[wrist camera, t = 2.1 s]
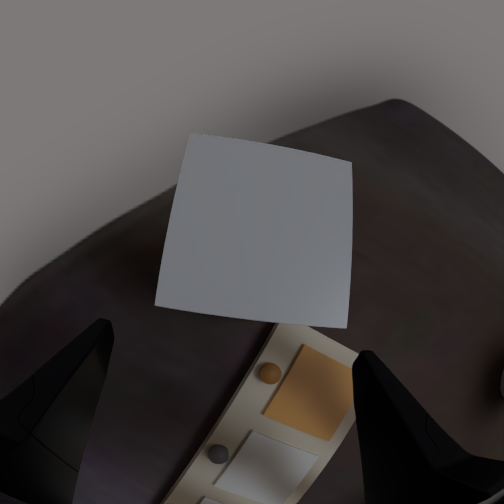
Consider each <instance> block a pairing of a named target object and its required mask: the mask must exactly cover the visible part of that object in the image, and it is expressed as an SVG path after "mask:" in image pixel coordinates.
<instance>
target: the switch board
mask: <svg viewBox="0 0 504 504" xmlns="http://www.w3.org/2000/svg"><path fill="white" fill-rule="evenodd" d="M358 355H359V354H358V353H356V352H354V351H352V350H350V349H348V348H347V347H345V346H343V345H341V344H339V343H337V342H335V341H334V340H332V339H330V338H328V337H326V336H324V335H323V334H321V333H319V332H317V331H315V330H313V329H312V328H310V327H308V326H306V325H295V324H284V323H275V325H274V327H273V328H272V330H271V332H270V334H269V335H268V337H267V339H266V341H265V342H264V344H263V346H262V348H261V349H260V351H259V353H258V355H257V356H256V358H255V360H254V361H253V363H252V365H251V366H250V368H249V370H248V371H247V373H246V375H245V376H244V378H243V380H242V381H241V383H240V385H239V386H238V388H237V390H236V391H235V393H234V394H233V396H232V398H231V399H230V401H229V403H228V404H227V406H226V407H225V409H224V411H223V412H222V414H221V415H220V417H219V418H218V420H217V422H216V423H215V425H214V426H213V428H212V429H211V431H210V432H209V434H208V435H207V437H206V438H205V440H204V442H203V443H202V445H201V446H200V448H199V449H198V451H197V452H196V454H195V455H194V456H193V458H192V459H191V461H190V462H189V464H188V465H187V467H186V468H185V470H184V471H183V472H182V474H181V475H180V477H179V478H178V480H177V481H176V482H175V484H174V485H173V487H172V488H171V489H170V491H169V492H168V494H167V495H166V496H165V498H164V499H163V501H162V502H161V503H160V504H296V503H297V502H298V501H299V500H300V498H301V497H302V496H303V495H304V493H305V492H306V491H307V490H308V488H309V487H310V486H311V485H312V483H313V482H314V481H315V479H316V478H317V477H318V475H319V474H320V473H321V471H322V470H323V468H324V467H325V466H326V464H327V463H328V461H329V460H330V458H331V457H332V456H333V454H334V453H335V451H336V450H337V448H338V447H339V445H340V444H341V442H342V440H343V439H344V437H345V436H346V434H347V433H348V431H349V429H350V428H351V426H352V424H353V423H354V421H355V419H356V417H355V410H354V401H353V382H352V365H353V362H354V361H355V359H356V358H357V356H358Z"/></svg>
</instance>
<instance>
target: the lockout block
mask: <svg viewBox="0 0 504 504" xmlns="http://www.w3.org/2000/svg"><path fill="white" fill-rule="evenodd" d="M352 217H353V200H352V162H348V161H344V160H340V159H336V158H332V157H328V156H323V155H319V154H315V153H310V152H306V151H301V150H296V149H291V148H286V147H281V146H276V145H270V144H265V143H259V142H253V141H247V140H241V139H234V138H227V137H219V136H212V135H203V134H195V133H190V137H189V141H188V144H187V148H186V152H185V156H184V160H183V163H182V167H181V171H180V175H179V180H178V184H177V188H176V192H175V197H174V201H173V206H172V210H171V215H170V220H169V225H168V230H167V235H166V240H165V245H164V251H163V256H162V262H161V267H160V273H159V280H158V286H157V292H156V299H155V306H160V307H166V308H171V309H177V310H183V311H189V312H195V313H202V314H209V315H216V316H223V317H231V318H239V319H247V320H255V321H264V322H274V323H284V324H295V325H306V326H319V327H333V328H347V318H348V306H349V293H350V278H351V258H352Z"/></svg>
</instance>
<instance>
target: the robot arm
mask: <svg viewBox="0 0 504 504" xmlns="http://www.w3.org/2000/svg"><path fill="white" fill-rule="evenodd" d="M113 343H114V333H113V329H112V324H111V322H110V321H109V320H106V319H101V318H100V319H98V320H97V321H95V322H94V323H93V324H92V325H90V326H89V327H88V328H87V329H86V330H84V331H83V332H82V333H81V334H80V335H78V336H77V337H76V338H75V339H74V340H72V341H71V342H70V343H69V344H68V345H66V346H65V347H64V348H63V349H62V350H60V351H59V352H58V353H57V354H56V355H55V356H53V357H52V358H51V359H50V360H49V361H48V362H46V363H45V364H44V365H43V366H42V367H41V368H39V369H38V370H37V371H36V372H35V373H34V374H33V375H31V376H30V377H29V378H28V379H27V380H26V381H24V382H23V383H22V384H21V385H20V386H18V387H17V388H16V389H15V390H13V391H12V392H11V393H9V394H8V395H7V396H5V397H4V398H2V399H1V400H0V504H72V501H73V496H74V491H75V486H76V482H77V477H78V472H79V468H80V464H81V460H82V456H83V452H84V448H85V444H86V440H87V437H88V433H89V430H90V426H91V423H92V419H93V416H94V413H95V409H96V406H97V403H98V400H99V397H100V394H101V391H102V388H103V385H104V381H105V378H106V374H107V369H108V365H109V360H110V356H111V352H112V347H113ZM352 382H353V401H354V410H355V417H356V424H357V431H358V439H359V447H360V455H361V464H362V474H363V484H364V494H365V495H364V498H365V504H504V461H500V460H494V459H488V458H483V457H478V456H474V455H472V454H470V453H468V452H466V451H465V450H464V449H463V448H462V447H461V446H460V445H459V444H458V443H456V442H455V441H454V440H453V439H452V438H451V437H450V436H449V435H448V434H447V433H446V432H445V431H444V430H443V429H442V428H441V427H440V426H439V425H438V424H437V423H436V422H435V421H434V419H433V418H432V417H431V416H430V415H429V414H428V413H427V412H426V410H425V409H424V408H423V407H422V406H421V405H420V404H419V402H418V401H417V400H416V399H415V398H414V397H413V396H412V395H411V393H410V392H409V391H408V390H407V389H406V388H405V387H404V386H403V384H402V383H401V382H400V381H399V380H398V379H397V378H396V377H395V375H394V374H393V373H392V372H391V371H390V370H389V369H388V368H387V367H386V365H385V364H384V363H383V362H382V361H381V360H380V359H379V358H378V357H377V356H376V354H375V353H374V352H373V351H370V350H363V351H361V352H360V353H359V355H358V356H357V358H356V359H355V361H354V362H353V365H352Z"/></svg>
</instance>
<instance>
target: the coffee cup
mask: <svg viewBox="0 0 504 504" xmlns="http://www.w3.org/2000/svg"><path fill="white" fill-rule="evenodd" d="M500 390H501V394H502V396H503V398H504V369H503V372H502V377H501V384H500Z"/></svg>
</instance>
